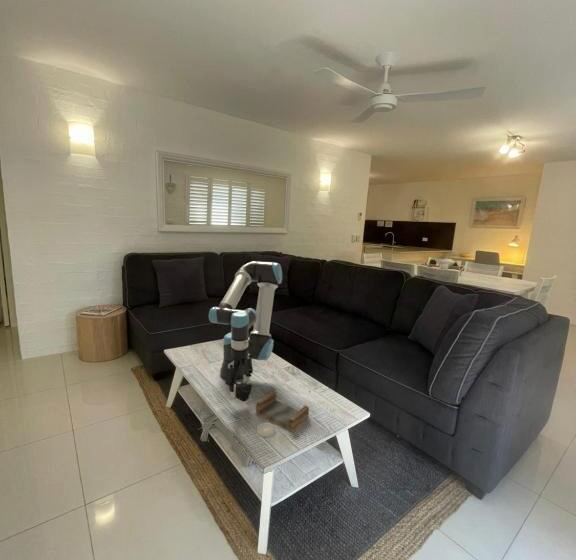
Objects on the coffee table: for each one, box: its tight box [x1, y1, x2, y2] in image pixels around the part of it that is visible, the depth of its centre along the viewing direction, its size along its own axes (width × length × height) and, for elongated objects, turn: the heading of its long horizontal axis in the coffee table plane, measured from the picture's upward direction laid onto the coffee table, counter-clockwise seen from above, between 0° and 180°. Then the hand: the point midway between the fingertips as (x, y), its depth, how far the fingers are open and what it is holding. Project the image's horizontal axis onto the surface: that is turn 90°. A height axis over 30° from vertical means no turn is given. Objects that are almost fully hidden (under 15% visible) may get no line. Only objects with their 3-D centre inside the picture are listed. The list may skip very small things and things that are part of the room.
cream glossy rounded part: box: [256, 422, 277, 438], centre depth 126 cm, size 8×8×1 cm
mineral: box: [235, 381, 253, 402], centre depth 139 cm, size 10×9×6 cm
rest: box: [255, 390, 310, 433], centre depth 136 cm, size 20×12×5 cm, turn 54°
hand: (239, 392), depth 141 cm, fingers closed on mineral, 8 cm apart
